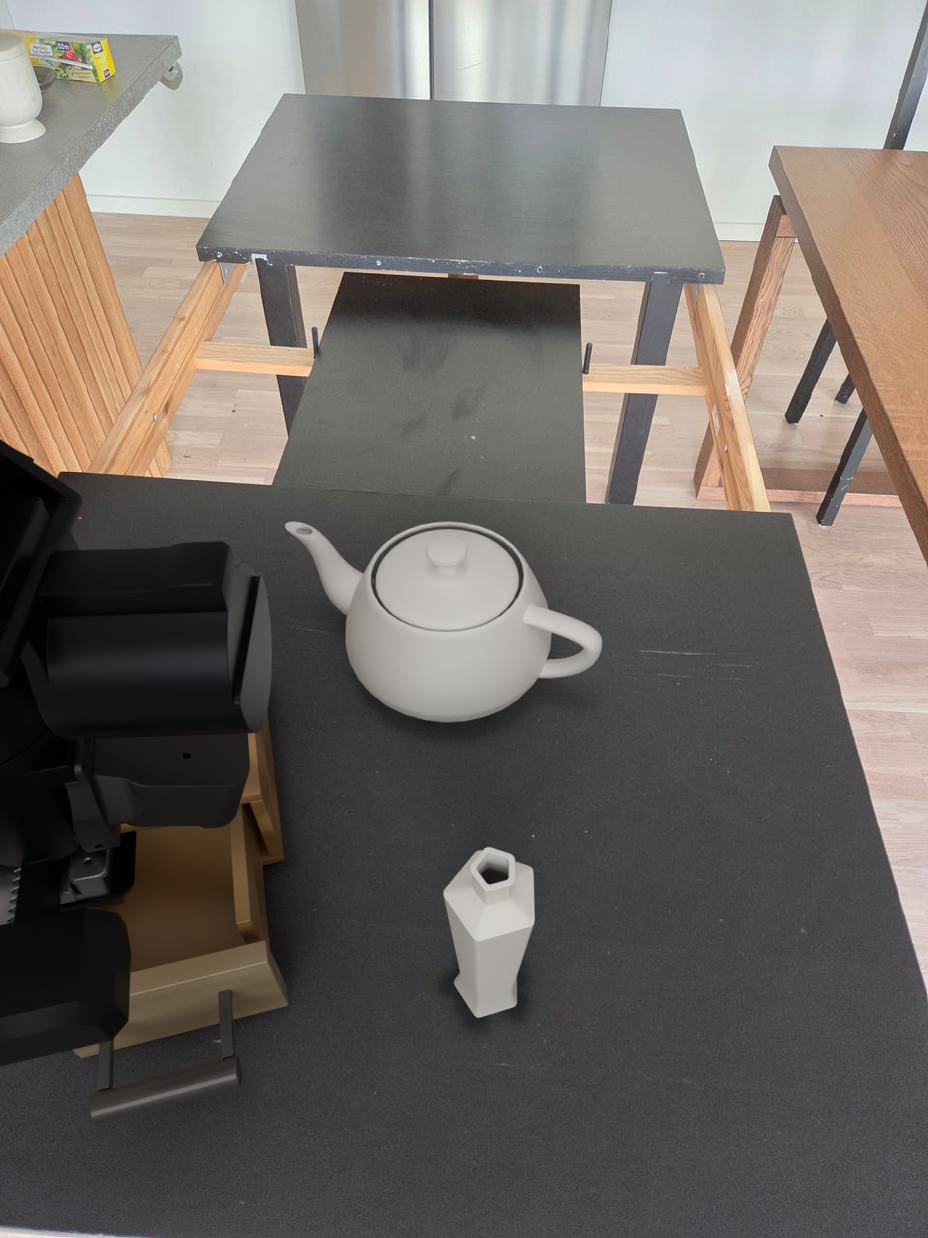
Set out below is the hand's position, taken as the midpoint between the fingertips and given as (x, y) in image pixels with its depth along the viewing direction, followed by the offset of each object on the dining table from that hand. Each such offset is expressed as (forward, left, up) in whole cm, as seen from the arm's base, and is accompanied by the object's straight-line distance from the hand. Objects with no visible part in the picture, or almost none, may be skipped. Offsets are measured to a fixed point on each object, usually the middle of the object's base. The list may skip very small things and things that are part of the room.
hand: (113, 898), depth 41 cm
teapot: (+21, +20, -12) cm, 32 cm away
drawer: (+1, +1, -11) cm, 11 cm away
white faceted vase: (+18, -5, -12) cm, 22 cm away
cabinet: (+1, +13, -12) cm, 18 cm away
